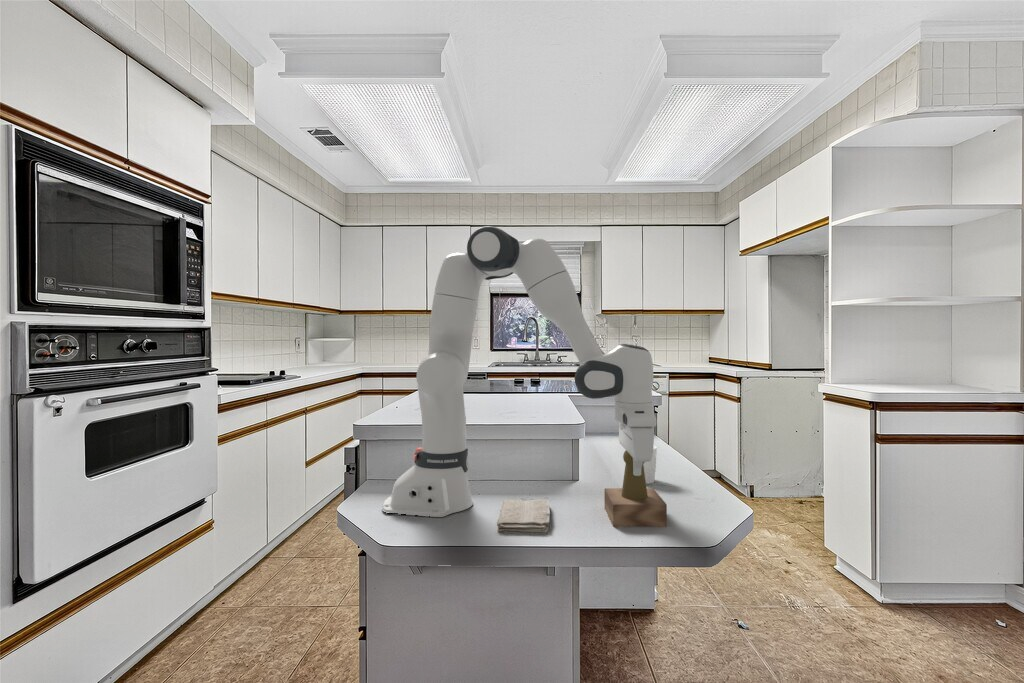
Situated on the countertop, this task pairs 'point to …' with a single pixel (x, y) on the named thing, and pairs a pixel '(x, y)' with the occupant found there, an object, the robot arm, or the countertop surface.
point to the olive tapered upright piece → (633, 481)
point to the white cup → (650, 468)
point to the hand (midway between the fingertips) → (634, 471)
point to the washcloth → (524, 516)
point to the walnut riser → (635, 509)
